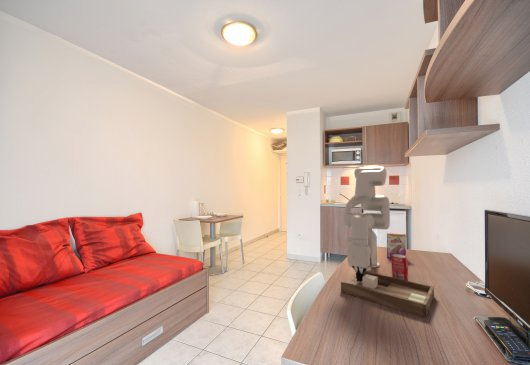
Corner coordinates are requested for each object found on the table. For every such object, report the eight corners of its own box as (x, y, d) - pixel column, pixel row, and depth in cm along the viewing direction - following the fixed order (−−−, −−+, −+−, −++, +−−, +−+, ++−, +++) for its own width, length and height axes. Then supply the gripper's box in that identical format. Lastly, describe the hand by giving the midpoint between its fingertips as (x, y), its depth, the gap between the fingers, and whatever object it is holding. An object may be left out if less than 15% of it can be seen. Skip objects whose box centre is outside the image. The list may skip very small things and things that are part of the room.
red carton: (410, 285, 115) (410, 258, 116) (394, 284, 117) (394, 257, 117) (405, 279, 122) (404, 254, 123) (389, 278, 124) (389, 253, 124)
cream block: (366, 282, 113) (366, 274, 113) (377, 285, 110) (377, 276, 110) (362, 285, 110) (362, 277, 110) (374, 289, 106) (374, 279, 106)
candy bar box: (387, 257, 162) (386, 233, 163) (386, 255, 167) (386, 232, 167) (406, 259, 158) (405, 234, 158) (405, 257, 162) (404, 233, 163)
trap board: (358, 278, 124) (358, 269, 124) (434, 296, 103) (433, 286, 103) (340, 292, 108) (340, 282, 108) (426, 317, 87) (425, 305, 87)
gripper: (341, 240, 116) (341, 279, 115) (373, 245, 106) (373, 287, 105) (347, 238, 121) (347, 275, 121) (378, 242, 111) (379, 282, 111)
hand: (359, 280), depth 113 cm, fingers closed
